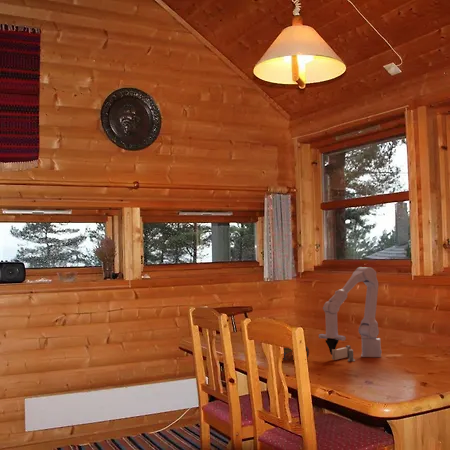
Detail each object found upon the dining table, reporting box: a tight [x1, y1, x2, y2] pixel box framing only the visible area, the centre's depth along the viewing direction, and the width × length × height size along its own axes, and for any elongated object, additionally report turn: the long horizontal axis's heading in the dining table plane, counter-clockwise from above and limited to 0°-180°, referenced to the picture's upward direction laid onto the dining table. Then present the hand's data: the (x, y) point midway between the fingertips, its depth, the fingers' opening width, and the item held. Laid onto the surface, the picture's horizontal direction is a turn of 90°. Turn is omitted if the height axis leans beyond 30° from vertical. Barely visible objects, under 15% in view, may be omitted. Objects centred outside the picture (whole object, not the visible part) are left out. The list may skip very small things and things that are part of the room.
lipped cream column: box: [331, 347, 348, 361], centre depth 302 cm, size 10×2×5 cm, turn 133°
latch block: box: [347, 348, 356, 363], centre depth 297 cm, size 3×5×5 cm, turn 165°
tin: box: [282, 345, 310, 361], centre depth 302 cm, size 15×3×8 cm, turn 62°
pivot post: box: [345, 344, 352, 359], centre depth 307 cm, size 4×4×6 cm
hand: (332, 354), depth 302 cm, fingers closed
